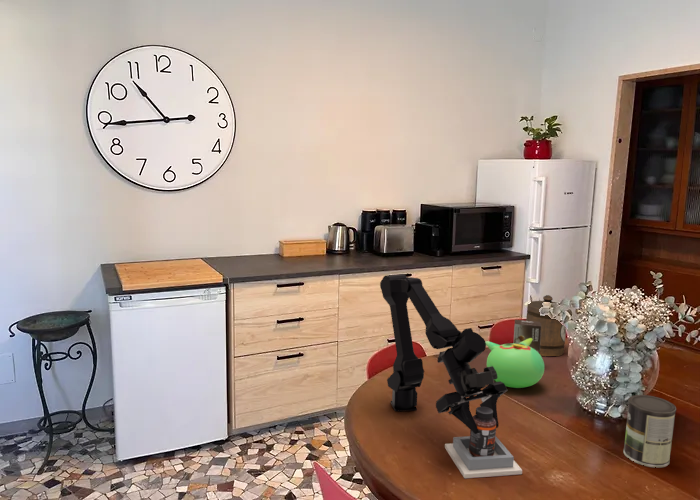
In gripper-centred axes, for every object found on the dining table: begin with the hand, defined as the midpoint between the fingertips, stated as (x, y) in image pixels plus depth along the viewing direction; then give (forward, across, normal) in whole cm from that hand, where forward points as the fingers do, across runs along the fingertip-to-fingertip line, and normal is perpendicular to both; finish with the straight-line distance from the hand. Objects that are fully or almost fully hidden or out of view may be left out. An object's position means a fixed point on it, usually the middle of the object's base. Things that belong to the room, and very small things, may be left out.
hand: (487, 430), depth 132 cm
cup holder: (+5, 0, +7) cm, 8 cm away
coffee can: (+17, +38, -6) cm, 42 cm away
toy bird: (-16, +42, +29) cm, 53 cm away
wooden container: (-30, +78, +43) cm, 94 cm away
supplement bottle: (+4, 0, +6) cm, 7 cm away
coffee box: (-24, +58, +37) cm, 73 cm away
